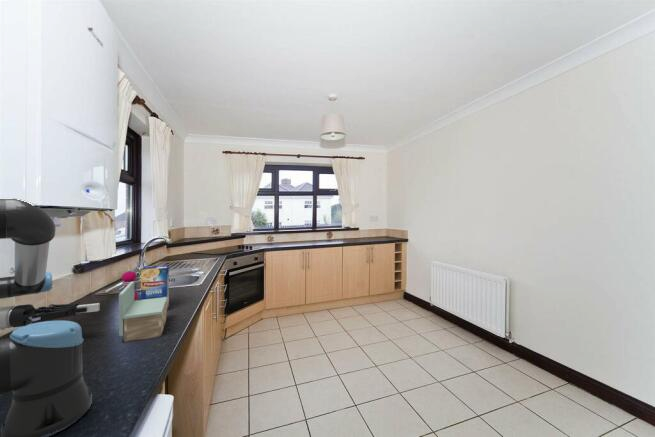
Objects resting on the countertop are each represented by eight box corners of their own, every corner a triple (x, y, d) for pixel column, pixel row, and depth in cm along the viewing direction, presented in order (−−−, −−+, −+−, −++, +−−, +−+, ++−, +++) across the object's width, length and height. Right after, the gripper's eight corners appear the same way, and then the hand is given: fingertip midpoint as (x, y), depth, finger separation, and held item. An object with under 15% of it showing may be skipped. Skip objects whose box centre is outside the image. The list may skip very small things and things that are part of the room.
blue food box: (167, 311, 130) (167, 267, 130) (140, 314, 126) (140, 269, 125) (169, 306, 137) (168, 265, 136) (143, 309, 132) (143, 266, 131)
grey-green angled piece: (161, 329, 104) (161, 290, 104) (119, 336, 98) (118, 294, 98) (167, 312, 121) (167, 278, 121) (131, 317, 115) (130, 281, 115)
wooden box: (161, 336, 105) (161, 314, 105) (124, 342, 100) (124, 319, 99) (166, 319, 121) (166, 300, 121) (135, 323, 116) (134, 303, 115)
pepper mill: (123, 305, 137) (123, 267, 136) (139, 303, 139) (139, 266, 139) (118, 310, 130) (117, 270, 129) (135, 308, 133) (135, 269, 132)
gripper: (25, 319, 99) (104, 310, 109) (1, 334, 87) (92, 322, 97) (25, 300, 98) (104, 292, 109) (1, 312, 87) (92, 303, 97)
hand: (98, 307), depth 103 cm, fingers closed
